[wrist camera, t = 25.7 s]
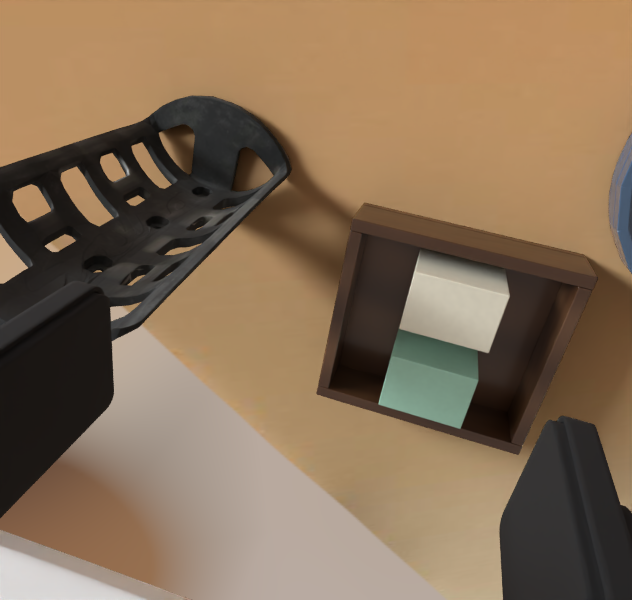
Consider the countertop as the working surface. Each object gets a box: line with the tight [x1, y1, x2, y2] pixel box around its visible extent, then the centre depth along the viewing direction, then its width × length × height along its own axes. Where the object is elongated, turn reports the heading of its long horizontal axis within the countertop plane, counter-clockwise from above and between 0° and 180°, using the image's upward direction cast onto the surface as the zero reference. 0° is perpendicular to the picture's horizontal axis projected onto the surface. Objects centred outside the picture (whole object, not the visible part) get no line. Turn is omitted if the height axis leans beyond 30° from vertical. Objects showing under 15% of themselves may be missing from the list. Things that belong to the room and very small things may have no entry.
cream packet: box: [399, 248, 510, 353], centre depth 34 cm, size 4×6×5 cm
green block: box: [378, 322, 479, 429], centre depth 37 cm, size 4×6×5 cm
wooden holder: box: [317, 203, 598, 455], centre depth 36 cm, size 14×15×4 cm
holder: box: [0, 96, 292, 341], centre depth 29 cm, size 11×8×20 cm
